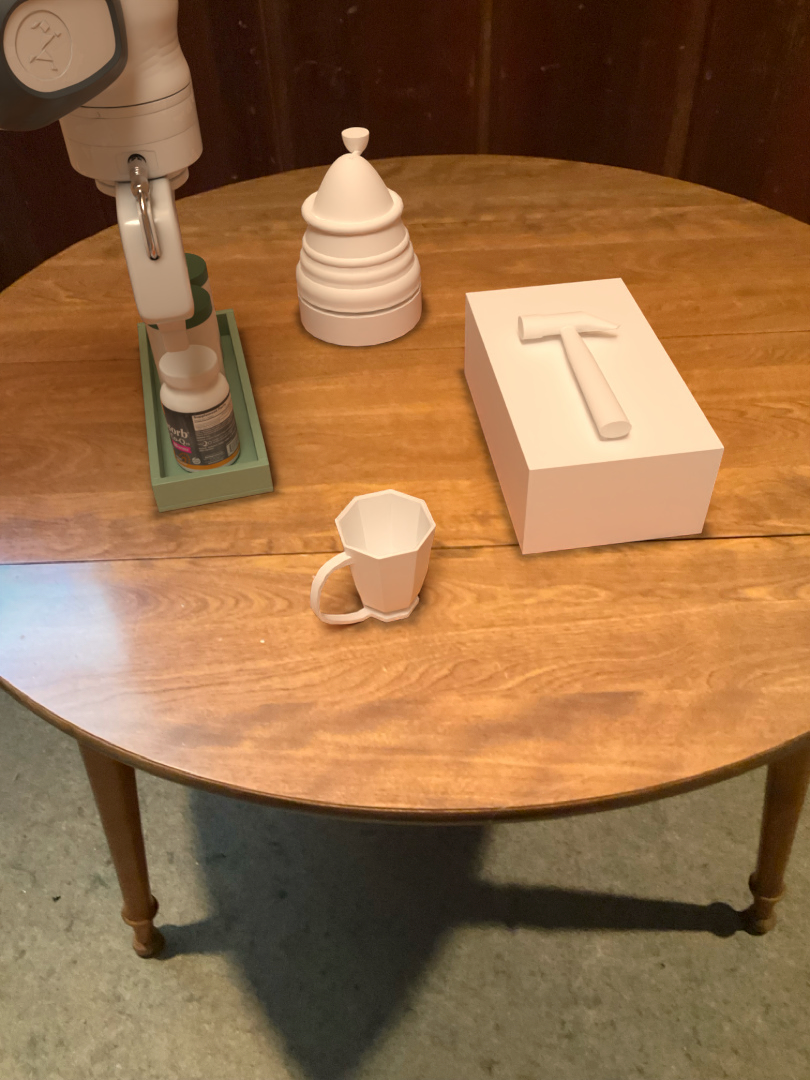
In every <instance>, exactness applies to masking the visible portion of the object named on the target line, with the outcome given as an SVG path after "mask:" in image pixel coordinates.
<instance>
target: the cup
mask: <svg viewBox="0 0 810 1080" xmlns="http://www.w3.org/2000/svg"><path fill="white" fill-rule="evenodd" d="M334 523H335V526H336V529H337V533H338V536H339V539H340V542H341V546H342V548H343V552H340V553H338V554H336V555H334V556H333V557H332V558H330V559H328V560H327V561H326V562H324V564H323V565H322V566H321V567H319V569H318V571H317V572H316V575H315V577H314V578H313V580H312V581H311V587H310V593H309V607H310V610H311V611H312V613H314V616H316V617H317V618H318V620H320V622H323V623H326V624H329V625H350V624H351V625H352V624H357V623H360V622H364V621H366V620H367V619H369V618H374V619H376V620H379V621H381V622H384V623H389V622H394V621H398V620H399V621H400V620H402V619H407V618H409V617H410V615H411V614H412V613H413V612H414V610H415V608H416V607H417V606H418V604H419V603H420V598H419V596H418V595H419V594H420V592H421V589H422V587H423V585H424V582H425V578H426V576H427V573H428V568H429V563H430V558H431V553H432V548H433V543H434V537H435V533H436V527H437V524H436V522H435V520H434V518H433V515H432V514H431V511H430V508H429V507H428V505H427V503H426V500H425V499H422V498H419V497H416V496H413V495H411V494H407V493H405V492H402V491H399V490H396V489H393V488H388V489H382V490H379V491H374V492H371V493H365V494H361V495H360V494H359V495H355V496H353V498H352V499H350V501H349V502H348V503H347V504H346V506H345V507H344V508H343V509H342V510H341V512H340V513H339V514H338V515H337V517H336V518H335V519H334ZM347 566H348V568H349V571H350V574H351V577H352V579H353V582H354V585H355V588H356V591H357V593H358V595H359V597H360V601H361V603H362V607H363V608H361V609H359V610H358V611H354V612H350V613H345V614H330V613H329V614H328V613H323V612H321V597H322V590H323V588H324V586H325V584H326V583H327V581H328V579H329V578H330V576H331V575H332V574H333V573H334V572H335V571H337V570H340V569H342V568H344V567H347Z"/></svg>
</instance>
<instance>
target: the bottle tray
mask: <svg viewBox="0 0 810 1080" xmlns="http://www.w3.org/2000/svg"><path fill="white" fill-rule="evenodd" d="M215 312H216V317H217V322H218V327H219V332H220V337H221V343H222V348H223V353H224V360H223V364H224V369H225V374H226V379H227V382H228V384H229V389H230V394H231V399H232V405H233V410H234V415H235V421H236V426H237V431H238V436H239V442H240V452H239V455H238V457H237V459H236V460H235V461H234V462H233V463H232V464H231V465H230V466H225V467H219V468H214V469H208V470H203V471H197V472H189V471H186V470H185V469H183V468H182V467H181V466H180V465H179V464H178V463H177V461H176V458H175V455H174V451H173V447H172V443H171V439H170V435H169V431H168V427H167V423H166V419H165V415H164V411H163V407H162V404H161V399H160V390H161V383H160V379H159V376H158V372H157V368H156V364H155V360H154V356H153V352H152V349H151V345H150V341H149V337H148V333H147V329H146V325H145V323H144V322H143V321H141V322H137V323H136V326H137V328H136V329H137V338H138V348H139V349H138V350H139V361H140V372H141V382H142V383H141V385H142V394H143V395H142V396H143V403H144V404H143V406H144V417H145V428H146V441H147V451H148V452H147V453H148V464H149V475H150V486H151V489H152V492H153V496H154V499H155V502H156V506H157V510H158V512H159V513H165V512H170V511H175V510H181V509H186V508H191V507H197V506H202V505H208V504H212V503H218V502H224V501H229V500H235V499H241V498H246V497H250V496H256V495H261V494H266V493H267V494H268V493H271V492H272V493H273V492H274V485H273V484H274V483H273V478H272V473H271V472H272V471H271V466H270V462H269V457H268V453H267V449H266V444H265V440H264V436H263V431H262V427H261V424H260V418H259V414H258V410H257V406H256V402H255V398H254V393H253V389H252V384H251V381H250V375H249V371H248V367H247V363H246V358H245V355H244V350H243V346H242V342H241V338H240V333H239V328H238V325H237V320H236V316H235V312H234V308H226V309H219V310H215Z"/></svg>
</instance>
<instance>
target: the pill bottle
mask: <svg viewBox="0 0 810 1080" xmlns="http://www.w3.org/2000/svg"><path fill="white" fill-rule="evenodd" d="M159 369H160V373H161V377H162V379H163V381H164V383H163V385H162V387H161V390H160V399H161V404H162V407H163V411H164V415H165V419H166V423H167V427H168V431H169V435H170V439H171V443H172V447H173V451H174V455H175V458H176V461H177V463H178V464H179V465H180V466H181V467H182V468H183V469H185V470H186V471H189V472H197V471H203V470H208V469H214V468H219V467H225V466H230V465H231V464H232V463H233V462H234V461H235V460H236V459H237V457H238V455H239V452H240V442H239V436H238V431H237V426H236V421H235V415H234V410H233V405H232V399H231V394H230V389H229V384H228V382H227V380H226V378H225V377H224V376H223V375H222V374H221V373H220V372H219V371H220V367H219V362H218V358H217V355H216V353H215V352H214V351H213V350H212V349H211V348H208V347H206V346H202V345H189V348H188V349H187V350H185V351H179V352H172V353H170V352H167V353H165V354H164V355H163V356H162V358H161V359H160V362H159Z"/></svg>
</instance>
